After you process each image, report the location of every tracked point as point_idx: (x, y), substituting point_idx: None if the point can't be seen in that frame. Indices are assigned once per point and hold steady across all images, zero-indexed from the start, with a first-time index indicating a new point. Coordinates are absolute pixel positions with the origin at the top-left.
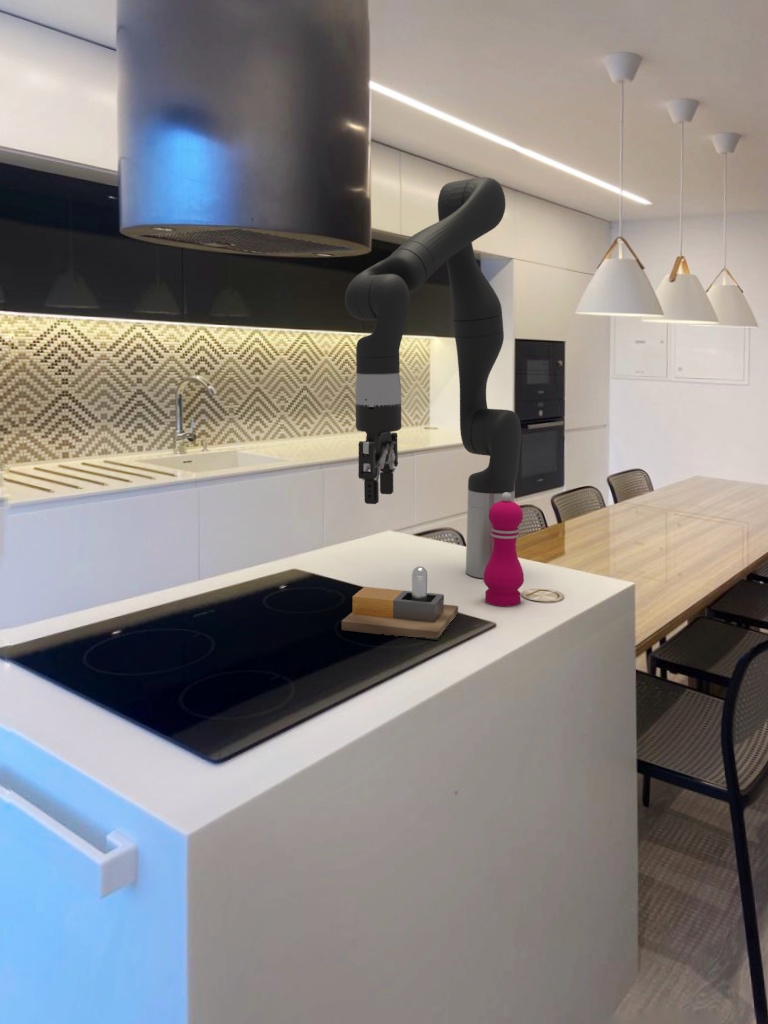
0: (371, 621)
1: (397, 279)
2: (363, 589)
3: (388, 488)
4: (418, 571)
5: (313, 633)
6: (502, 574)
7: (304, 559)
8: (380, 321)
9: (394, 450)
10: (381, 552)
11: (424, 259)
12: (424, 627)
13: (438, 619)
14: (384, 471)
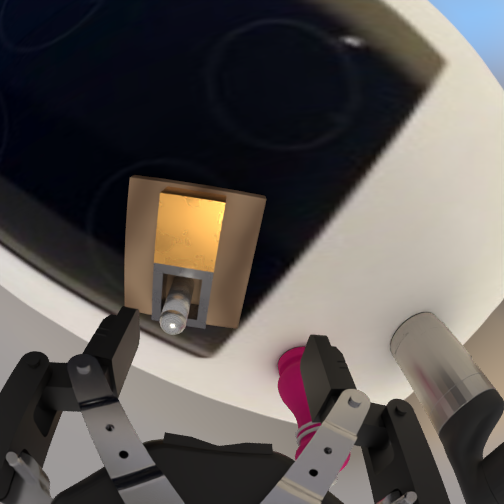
0: (137, 222)
1: None
2: (207, 203)
3: (305, 368)
4: (161, 324)
5: (114, 138)
6: (282, 393)
7: (485, 82)
8: None
9: (373, 490)
10: None
11: None
12: (134, 294)
13: None
14: (329, 406)
